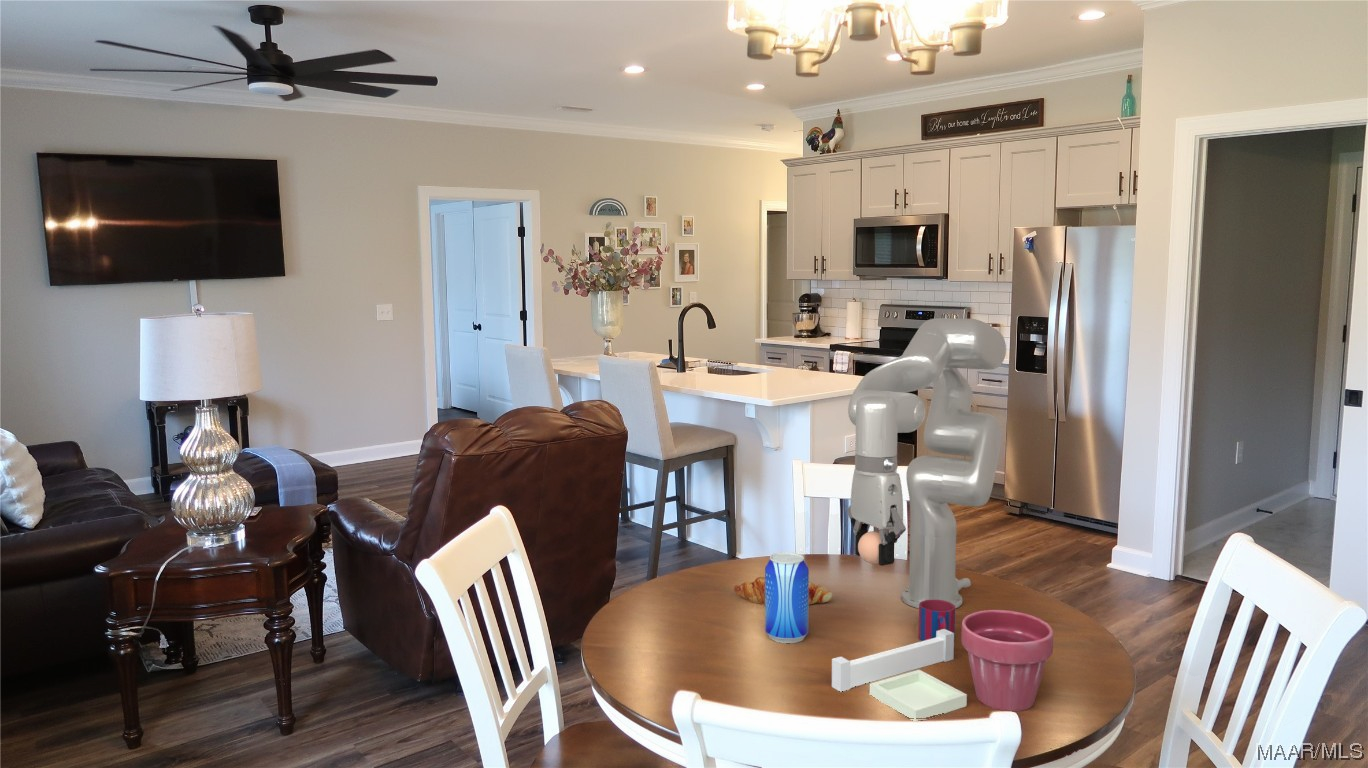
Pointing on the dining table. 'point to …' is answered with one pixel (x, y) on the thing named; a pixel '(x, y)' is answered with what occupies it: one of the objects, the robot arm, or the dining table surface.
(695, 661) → the dining table surface
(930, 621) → the mug
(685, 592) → the dining table surface
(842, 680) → the rail
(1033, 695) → the plant pot
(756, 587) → the croissant
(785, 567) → the beer can
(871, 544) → the ball
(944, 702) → the square tray
